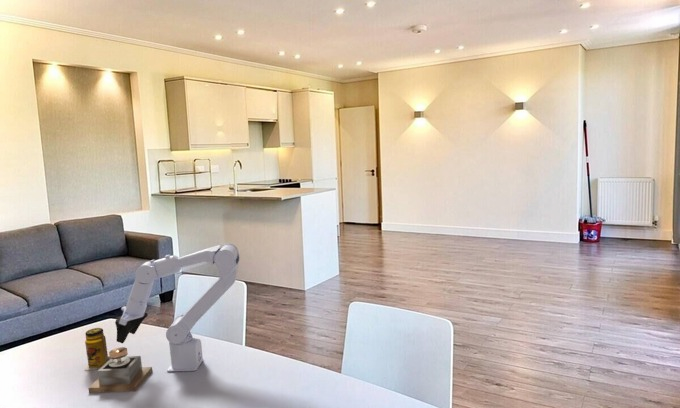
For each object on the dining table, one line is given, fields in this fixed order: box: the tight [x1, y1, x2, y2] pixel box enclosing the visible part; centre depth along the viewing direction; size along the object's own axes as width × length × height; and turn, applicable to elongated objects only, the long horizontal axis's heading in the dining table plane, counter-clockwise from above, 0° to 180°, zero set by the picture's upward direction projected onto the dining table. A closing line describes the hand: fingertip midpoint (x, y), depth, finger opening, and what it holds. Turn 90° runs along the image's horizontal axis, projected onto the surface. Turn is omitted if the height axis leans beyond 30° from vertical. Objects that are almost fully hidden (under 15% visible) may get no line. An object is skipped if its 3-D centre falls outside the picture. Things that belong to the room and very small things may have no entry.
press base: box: [87, 355, 153, 394], centre depth 146 cm, size 14×12×6 cm
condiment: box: [84, 327, 110, 371], centre depth 159 cm, size 7×8×12 cm
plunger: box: [108, 346, 130, 367], centre depth 145 cm, size 6×6×4 cm
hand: (125, 337), depth 152 cm, fingers open, 7 cm apart
